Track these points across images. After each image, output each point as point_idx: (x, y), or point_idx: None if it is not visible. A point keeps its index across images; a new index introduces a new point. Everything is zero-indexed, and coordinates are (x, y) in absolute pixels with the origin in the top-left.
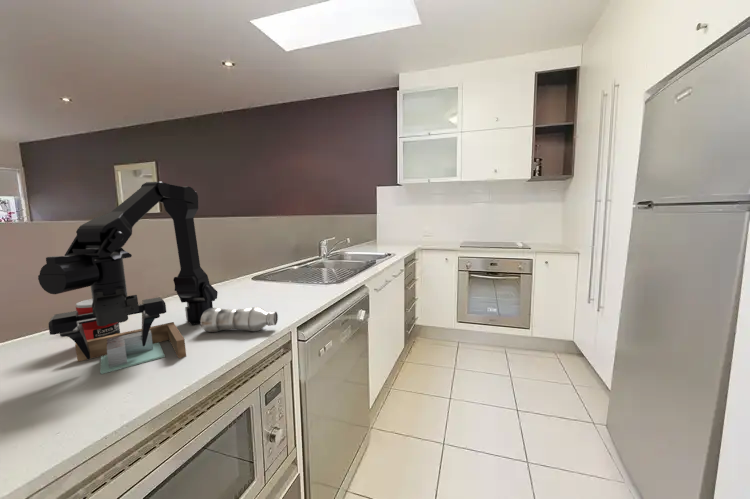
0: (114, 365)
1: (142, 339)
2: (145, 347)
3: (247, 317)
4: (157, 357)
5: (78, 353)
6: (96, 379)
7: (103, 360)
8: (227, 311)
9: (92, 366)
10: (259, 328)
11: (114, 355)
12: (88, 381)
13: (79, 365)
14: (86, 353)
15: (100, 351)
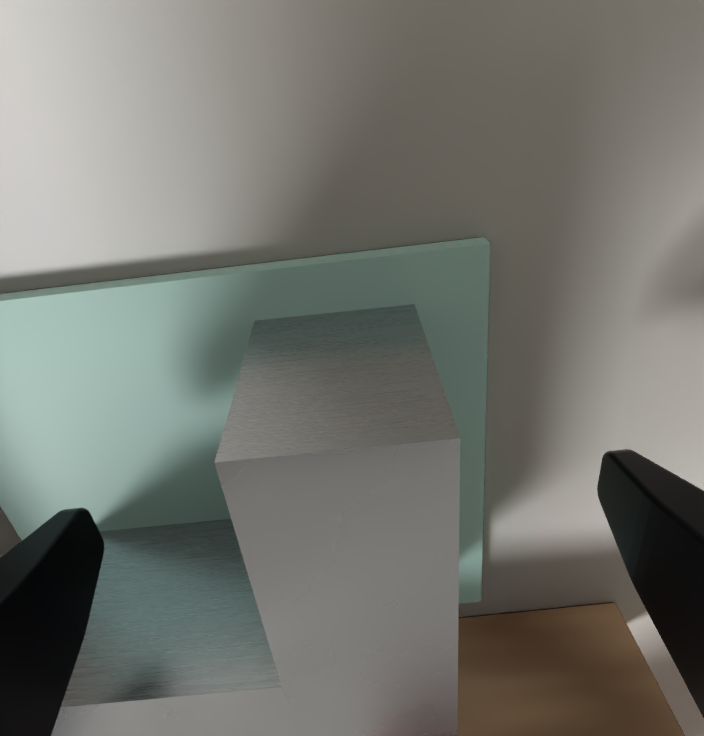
0: (368, 314)
1: (21, 577)
2: (132, 558)
3: None
4: None
5: (635, 667)
6: (523, 106)
7: (465, 516)
8: None
9: (537, 472)
10: None
11: (362, 379)
12: (596, 104)
13: (613, 540)
14: (684, 496)
15: (488, 654)
